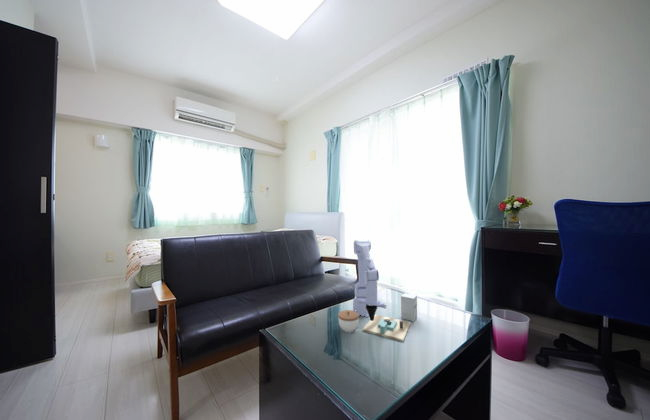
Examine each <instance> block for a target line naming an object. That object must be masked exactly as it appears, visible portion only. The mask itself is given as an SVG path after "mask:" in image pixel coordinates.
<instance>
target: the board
mask: <svg viewBox="0 0 650 420" xmlns="http://www.w3.org/2000/svg"><path fill="white" fill-rule="evenodd" d="M381 319H385V320H384V322H387V325H391V324H390V320H391V321H396V322H397V325H396V326H395V328H394V330H389V329H387V330H386V332H385V334H383V333H380V327H378V323H379V322H380V320H381ZM411 322H412V321H407V320H404V319H403V320H402V319H397V318H393V317H388V316H383V315H380V314H375V316H374V320H373V321H371V320H370V319H369V321H368V322H367V323H366V324H365V326H364V327H363V328H362V332H365V333H369V334H373V335H376V336H379V337H383V338H387V339H391V340H395V341H400V342H404V341H405V339H406V336H407V334H408V332H409V329H410V327H411V324H412V323H411Z"/></svg>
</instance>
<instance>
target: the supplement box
mask: <svg viewBox="0 0 650 420" xmlns="http://www.w3.org/2000/svg"><path fill="white" fill-rule="evenodd" d="M400 305H401V306H400V317H401V319H403V320H405V321H407V320H408V321H409V322H415V320H416V319H417V318H418V295H416V294H412V293H406V292H405V293H404V292H403V294H402V295H401V296H400Z"/></svg>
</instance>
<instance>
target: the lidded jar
mask: <svg viewBox="0 0 650 420" xmlns="http://www.w3.org/2000/svg"><path fill="white" fill-rule="evenodd" d="M337 316H338V324H339V326H340V328H341V329H342V331H343V332H345V333H353V332H354V331H355V330H356V329H357V328H358V326H359V316H360V315H359V314H358V313H357V312H355V311H353V310H351V309H350V310H348V309H347V310H346V309H344V310H341V311H340V312H338V313H337Z"/></svg>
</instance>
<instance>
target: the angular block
mask: <svg viewBox="0 0 650 420" xmlns="http://www.w3.org/2000/svg"><path fill="white" fill-rule="evenodd" d="M384 320H385V319H381V320H380V322H379V323H378V327H380V333H383V334H385V332H386V330H387V329H389V330H394V328H395V326H396V325H397V322H396V321H391V320H390V324H391V325H387V322H384Z"/></svg>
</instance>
